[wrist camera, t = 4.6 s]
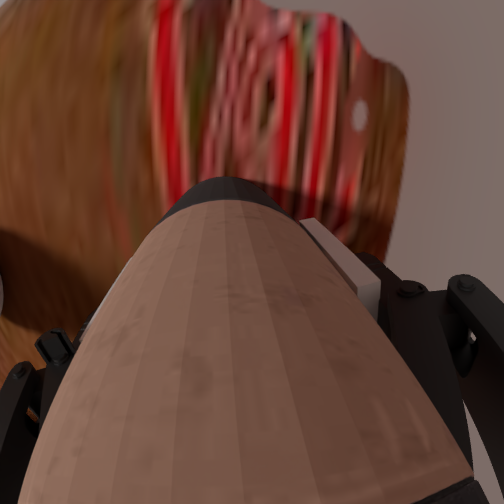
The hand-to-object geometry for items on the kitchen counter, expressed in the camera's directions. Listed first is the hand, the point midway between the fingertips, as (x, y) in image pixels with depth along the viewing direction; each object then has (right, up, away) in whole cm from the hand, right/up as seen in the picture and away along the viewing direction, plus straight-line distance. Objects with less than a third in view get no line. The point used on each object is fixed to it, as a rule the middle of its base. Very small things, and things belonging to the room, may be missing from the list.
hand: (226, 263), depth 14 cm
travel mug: (-1, +2, +5) cm, 5 cm away
